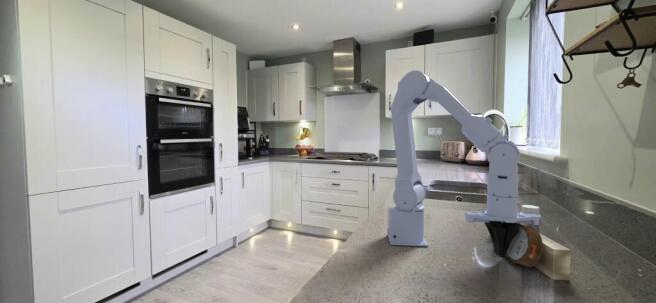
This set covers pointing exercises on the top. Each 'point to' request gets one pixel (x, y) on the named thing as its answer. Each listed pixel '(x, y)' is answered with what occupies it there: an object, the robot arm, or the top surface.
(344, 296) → the top surface
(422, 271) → the top surface
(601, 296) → the top surface
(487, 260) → the top surface
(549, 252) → the board
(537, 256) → the tin
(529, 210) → the pill bottle
